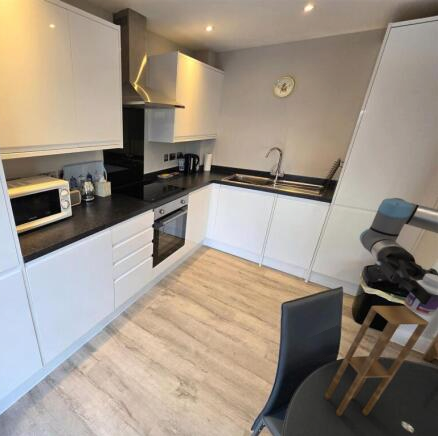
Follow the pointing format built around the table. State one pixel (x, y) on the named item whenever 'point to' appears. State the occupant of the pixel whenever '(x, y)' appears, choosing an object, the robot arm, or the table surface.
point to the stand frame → (371, 363)
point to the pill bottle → (434, 287)
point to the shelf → (399, 315)
